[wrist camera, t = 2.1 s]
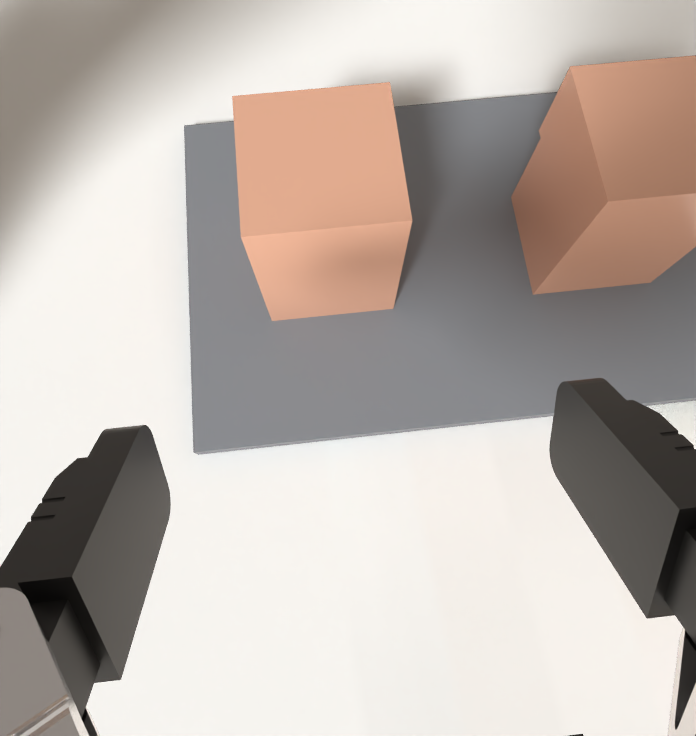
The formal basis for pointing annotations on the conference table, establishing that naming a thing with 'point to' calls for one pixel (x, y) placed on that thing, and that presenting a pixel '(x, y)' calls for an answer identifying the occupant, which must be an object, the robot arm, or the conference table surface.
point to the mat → (419, 305)
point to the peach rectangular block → (611, 177)
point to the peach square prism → (322, 198)
